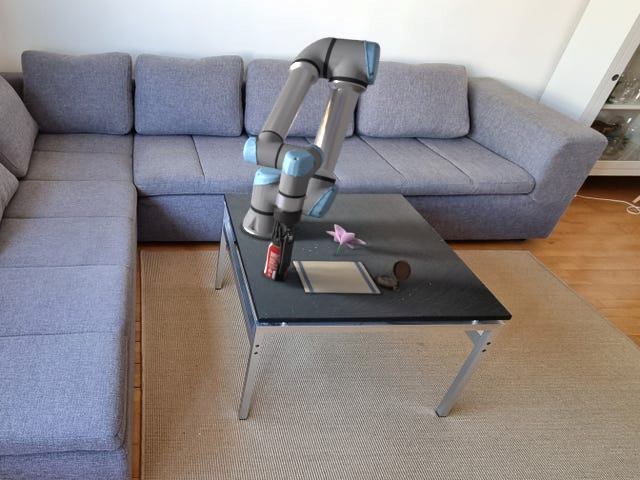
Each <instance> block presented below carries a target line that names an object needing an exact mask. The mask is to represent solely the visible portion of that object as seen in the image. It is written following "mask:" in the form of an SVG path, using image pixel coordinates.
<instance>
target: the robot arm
mask: <svg viewBox="0 0 640 480" xmlns="http://www.w3.org/2000/svg"><path fill="white" fill-rule="evenodd" d="M380 59H381V45H380V44H379V43H378V42H376V41H370V40H369V41H368V40H366V39H364V40H363V39H351V38H341V37H333V36H330V37H329V36H328V37H322V38H319V39H317V40H316V41H313V42H312V43H310V44H309V45H307V46H306V47H304V48H303V49H302V50H301V51H300V52H299V53H298V54H297V56H296V57H294V59H293V60H292V62H291V64H290V66H289V68H288V72H287V73H288V74H287V75H288V78H287V79H286V81H285V83H284V85H283V87H282V89H281V91H280V93H279V95H278V96H277V99H276V101H275V103H274V106H273V107H272V109H271V111H270V113H269V115H268V117H267V118H266V121H265V123H264V125H263V127H262V129H261V130H260V133H259V135H258V136H250V137H249V138H248V139H246V141H245V143H244V146H243V153H242V154H243V155H242V157H243V159H244V161H245V162H247V163H250V164H252V165H255V166H262V167H260V168H259V169H257V171H256V172H255V175H254V180H253V183H252V184H253V185H252V193H251V200H250V208H249V209H248V211H247V213H246V214H245V217H244V219H243V220H242V227H241V228H242V230H243V231H244V233H245V234H246V235H248V236H250V237H252V238H254V239H258V240H263V241H271V242H270V244H271V243H272V240H273V239H275V238H279V241H280V254H279V262H278V263H276V265H277V268H276V272H275V277H274V280H273V282H284V281H285V278H286V277H285V272H286V268H287V267H288V268H290V267H291V263H292V257H293V250H294V243H295V240H296V235H295V234H294V235H293V233H294V226H295V225H297V224H299V223H300V221H301V220H302V215H304V216H307V217H310V218H316V219H323V218H324V217H325V216H326V215H327V214H328V212H329V211H330V209H331V208H332V205H333V203H334V202H335V199H336V197H337V195H338V192H339V190H340V189H339V185H338V184H337V183H336V181H337V178H336V175H335V173H334V172H335V169H336V165H337V163H338V160H339V157H340V154H341V151H342V148H343V145H344V142H345V139H346V136H347V133H348V129H349V127H350V123H351V121H352V118H353V114H354V112H355V108H356V106H357V102H358V99H359V97H360V96H361V95H362V94H364V93H366V92H367V90H368V86H374V84H375V83H376V79H377V76H378V75H377V74H378V71H379V65H380ZM319 79H324V80H328V81H327V86H328V89H329V95H328V97H327V101H326V103H325V107H324V109H323V113H322V116H321V120H320V123H319V125H318V129H317V132H316V135H315V138H314V142H313V144H312V143H311V144H307V145H303V146H300V145H294V144H289V143H287V142H286V143H285V141H286V139H287V136H288V134H289V132H290V131H291V129H292V126H293V124H294V122H295V121H296V119H297V116H298V114H299V112H300V110H301V108H302V106H303V104H304V101H305V100H306V97H307V95H308V93H309V91H310V90H311V87H312V86H314V85H315V84H317V82H318V81H319ZM282 238H284V239H282ZM284 277H285V278H284Z"/></svg>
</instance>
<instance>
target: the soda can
mask: <svg viewBox="0 0 640 480" xmlns="http://www.w3.org/2000/svg"><path fill="white" fill-rule="evenodd" d="M282 239H284V238H282ZM271 242H272V243H271ZM271 242H270V243H269V245H268V250H267V254H266V260H265V265H264V272H263V274H264V276H265V277H267V278H268V279H271V280H273V281H274V277H275V272H276V268H277V265H276V263H278V262H279V254H280V241H279V238H275V239H273V240H271ZM288 270H289V267H287V268H286V272H285V277H284V279H286V277H287V274H288Z"/></svg>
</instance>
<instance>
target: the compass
mask: <svg viewBox="0 0 640 480" xmlns="http://www.w3.org/2000/svg"><path fill="white" fill-rule="evenodd" d="M411 273H412V268H411V265H410V263H408V261H406V260H405V259H401V260H396V261H395V262H394V263H393V265H392V275H393V276H392V275H389V274H379V275H377V276H376V278H375V282H376V283H377V284H378V285H379V286H380V287H382V288H385V289H391V290H394V291H397V292H399V291H400V290H401V289H400V288H399V287H398V286H399V281H406V280H408V279H409V278H410V276H411ZM396 289H397V290H396Z"/></svg>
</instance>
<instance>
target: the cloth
mask: <svg viewBox="0 0 640 480" xmlns="http://www.w3.org/2000/svg"><path fill="white" fill-rule="evenodd" d="M292 262H293V265H294V267H295V269H296V271H297V272H296V273H297V274H298V277H299V279H300V281H301V284H302V286H303V288H304V291H305V293H306V294H307V293H310V294H311V293H313V294H314V293H316V294H372V295H373V294H379V295H380V294H381V291H380V290H379V288H378V286H377V285H376V284H375V282H374V281H373V279H372V277H371V276H370V274H369V272H368V270H367V269H366V268H365V266H364V265H363V263H362V261H328V260H327V261H325V260H324V261H322V260H321V261H319V260H318V261H317V260H314V261H313V260H293V261H292Z"/></svg>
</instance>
